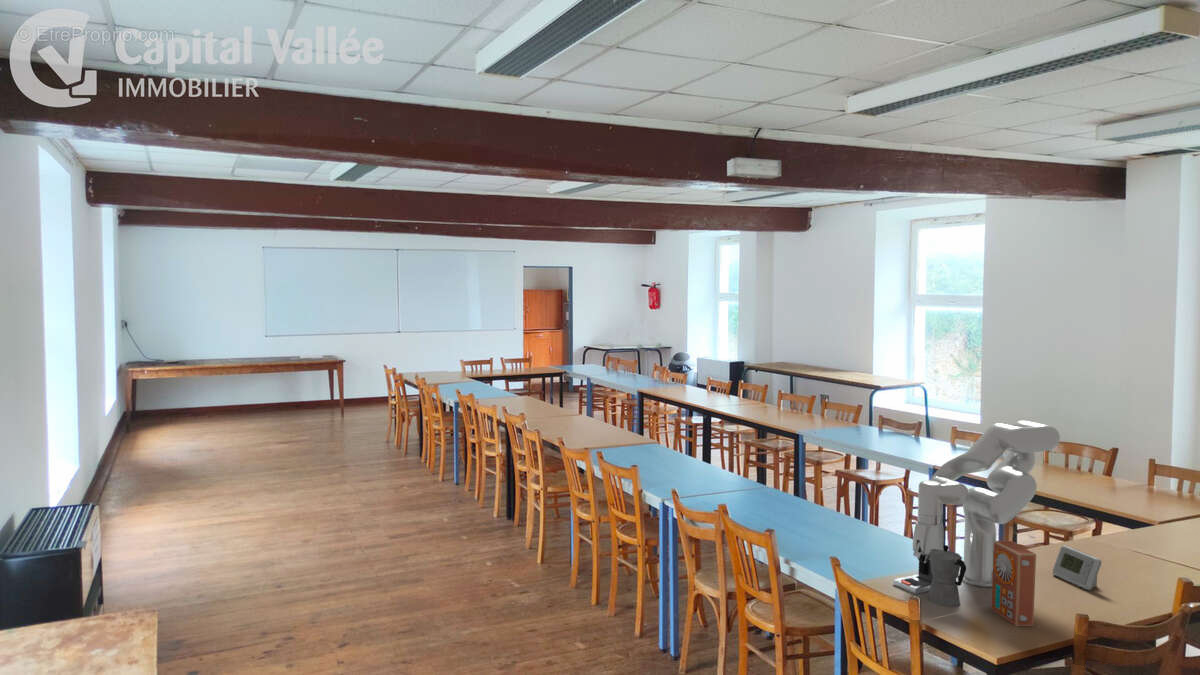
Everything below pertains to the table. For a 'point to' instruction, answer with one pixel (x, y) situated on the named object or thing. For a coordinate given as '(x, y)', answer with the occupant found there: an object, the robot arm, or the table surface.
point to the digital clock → (1077, 567)
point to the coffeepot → (946, 576)
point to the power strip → (912, 584)
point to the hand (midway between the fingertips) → (928, 572)
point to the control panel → (1013, 583)
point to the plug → (928, 572)
